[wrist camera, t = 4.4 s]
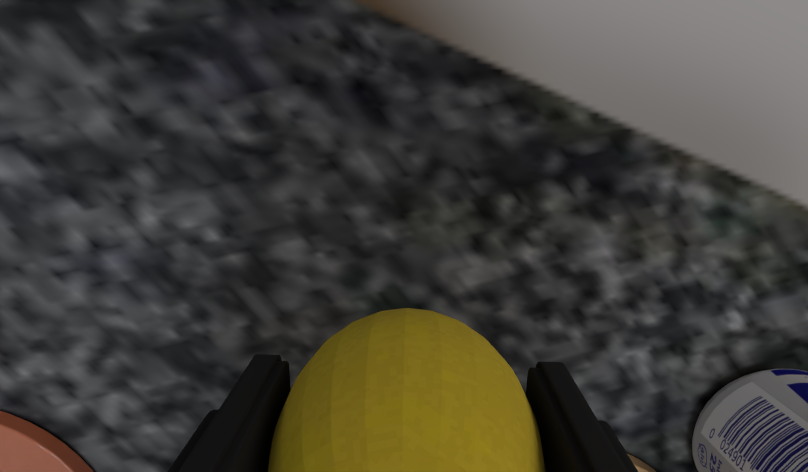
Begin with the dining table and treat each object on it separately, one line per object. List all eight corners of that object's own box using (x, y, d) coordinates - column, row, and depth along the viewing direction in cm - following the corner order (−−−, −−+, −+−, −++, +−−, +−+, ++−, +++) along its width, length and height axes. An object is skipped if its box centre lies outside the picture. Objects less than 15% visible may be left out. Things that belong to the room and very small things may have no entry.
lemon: (321, 254, 13) (180, 473, 5) (516, 276, 13) (675, 525, 5) (310, 421, 14) (188, 790, 6) (486, 440, 14) (572, 828, 7)
